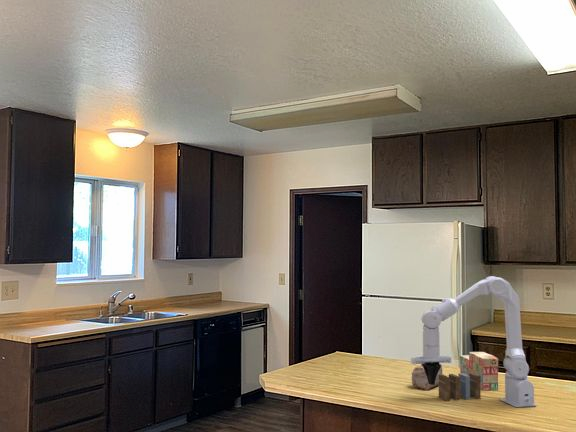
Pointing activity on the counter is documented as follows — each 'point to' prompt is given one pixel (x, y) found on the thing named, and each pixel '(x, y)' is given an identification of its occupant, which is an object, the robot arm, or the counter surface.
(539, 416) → the counter surface
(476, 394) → the domino
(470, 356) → the stack of blocks
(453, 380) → the domino
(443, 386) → the domino
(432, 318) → the robot arm
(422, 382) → the food item
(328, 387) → the counter surface
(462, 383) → the placed domino
